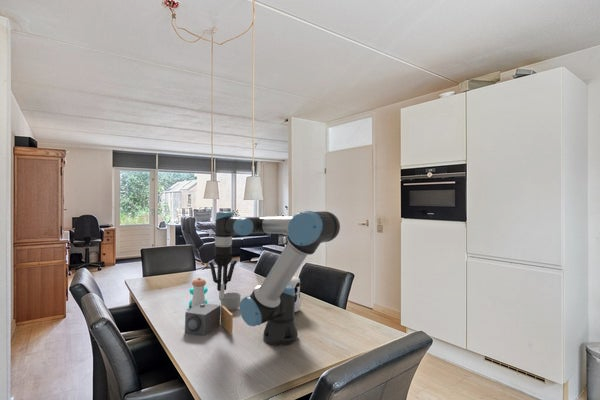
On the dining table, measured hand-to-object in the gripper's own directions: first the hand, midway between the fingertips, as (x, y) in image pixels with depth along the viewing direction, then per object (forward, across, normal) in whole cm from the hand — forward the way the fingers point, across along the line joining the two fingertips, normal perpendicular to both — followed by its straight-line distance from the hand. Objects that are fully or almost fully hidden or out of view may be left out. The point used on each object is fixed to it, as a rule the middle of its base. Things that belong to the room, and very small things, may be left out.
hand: (221, 297), depth 143 cm
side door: (+15, -4, -3) cm, 16 cm away
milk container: (+16, -40, -12) cm, 44 cm away
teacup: (+16, -14, -29) cm, 36 cm away
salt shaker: (+16, +3, -28) cm, 32 cm away
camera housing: (+16, +6, -8) cm, 19 cm away
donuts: (+17, 0, -43) cm, 46 cm away
